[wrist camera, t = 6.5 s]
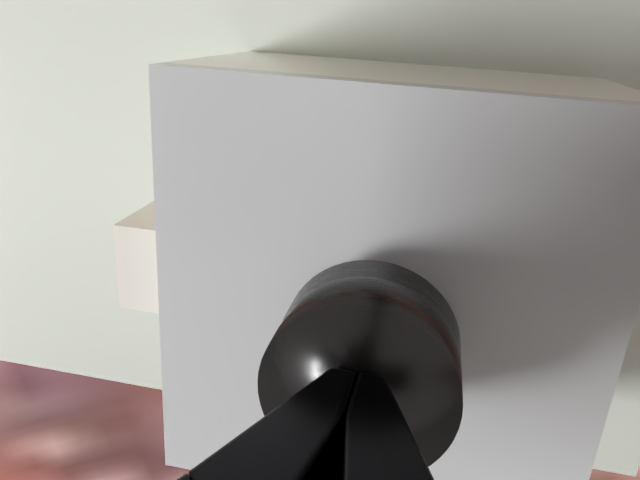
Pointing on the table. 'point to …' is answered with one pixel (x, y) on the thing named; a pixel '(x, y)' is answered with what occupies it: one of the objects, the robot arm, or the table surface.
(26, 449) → the table surface
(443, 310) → the plunger
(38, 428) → the table surface
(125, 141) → the board
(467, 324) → the white square block
